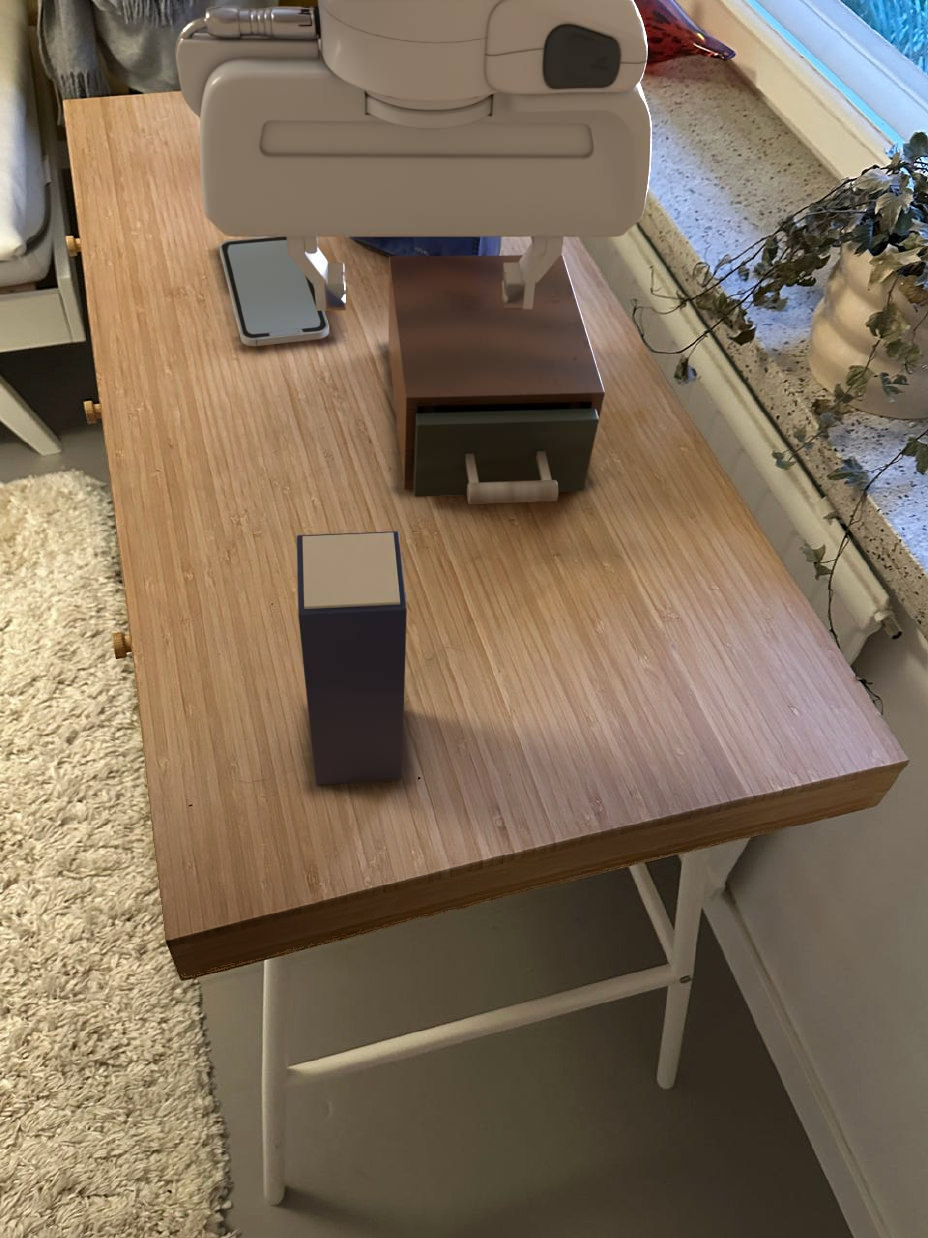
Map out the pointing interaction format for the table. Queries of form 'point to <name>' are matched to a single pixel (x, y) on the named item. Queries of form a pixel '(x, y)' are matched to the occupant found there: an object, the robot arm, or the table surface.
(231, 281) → the smartphone
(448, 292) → the cabinet
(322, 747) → the box
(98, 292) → the table surface
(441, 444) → the drawer
